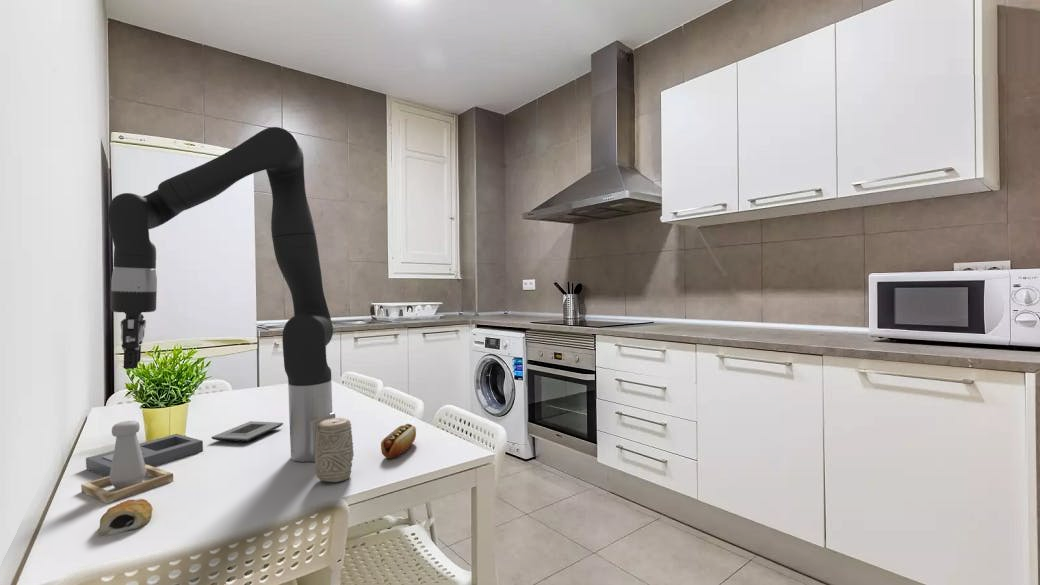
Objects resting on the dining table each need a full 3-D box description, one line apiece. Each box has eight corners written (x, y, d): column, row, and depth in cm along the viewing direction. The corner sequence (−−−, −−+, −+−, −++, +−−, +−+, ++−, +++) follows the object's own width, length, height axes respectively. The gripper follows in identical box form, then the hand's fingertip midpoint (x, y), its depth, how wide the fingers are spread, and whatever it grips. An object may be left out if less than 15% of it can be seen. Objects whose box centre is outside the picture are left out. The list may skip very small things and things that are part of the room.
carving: (360, 476, 98) (358, 419, 97) (325, 489, 92) (323, 428, 92) (344, 469, 102) (342, 414, 101) (309, 481, 96) (307, 422, 96)
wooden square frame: (173, 480, 98) (173, 473, 98) (107, 503, 88) (106, 495, 88) (146, 471, 103) (146, 464, 103) (81, 491, 93) (81, 484, 93)
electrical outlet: (247, 447, 118) (246, 437, 118) (211, 444, 121) (211, 435, 120) (283, 430, 131) (283, 421, 131) (250, 428, 133) (250, 420, 133)
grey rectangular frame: (203, 450, 115) (202, 439, 115) (111, 479, 99) (110, 466, 99) (176, 443, 121) (176, 433, 121) (86, 469, 105) (85, 457, 105)
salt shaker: (151, 483, 96) (148, 420, 96) (116, 495, 92) (113, 428, 91) (139, 477, 100) (137, 416, 99) (105, 488, 95) (101, 424, 94)
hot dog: (420, 442, 118) (420, 422, 118) (399, 462, 105) (398, 440, 105) (401, 441, 119) (401, 421, 119) (378, 461, 106) (377, 439, 106)
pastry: (110, 515, 84) (110, 494, 84) (158, 506, 87) (157, 485, 87) (96, 540, 76) (95, 516, 76) (149, 528, 79) (148, 506, 79)
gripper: (155, 291, 97) (152, 369, 98) (158, 288, 109) (155, 359, 109) (106, 290, 93) (104, 372, 93) (115, 287, 104) (113, 361, 105)
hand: (132, 365), depth 101 cm, fingers open, 8 cm apart
